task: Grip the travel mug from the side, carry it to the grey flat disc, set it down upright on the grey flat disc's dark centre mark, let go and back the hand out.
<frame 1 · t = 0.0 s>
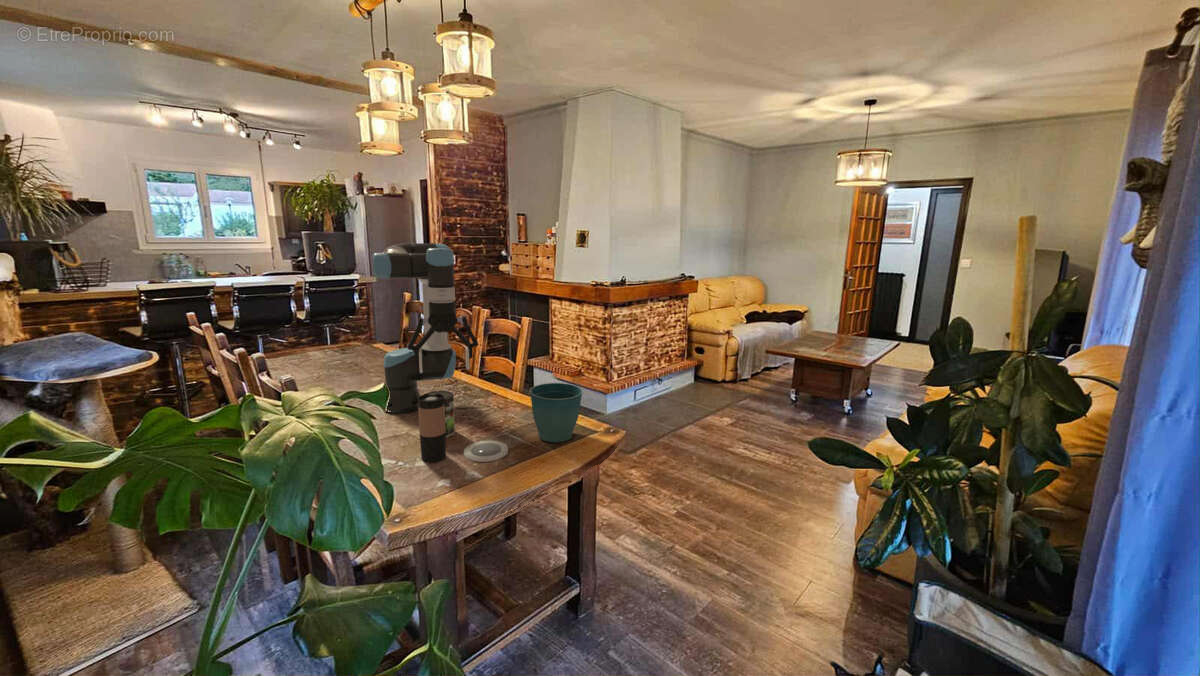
hand: (444, 370, 145), 28 cm above the table, tool pointing down, fingers open, 13 cm apart
flower pot: (555, 436, 167), on the table
coffee can: (439, 433, 167), on the table
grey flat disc: (486, 452, 154), on the table
travel mug: (433, 458, 149), on the table
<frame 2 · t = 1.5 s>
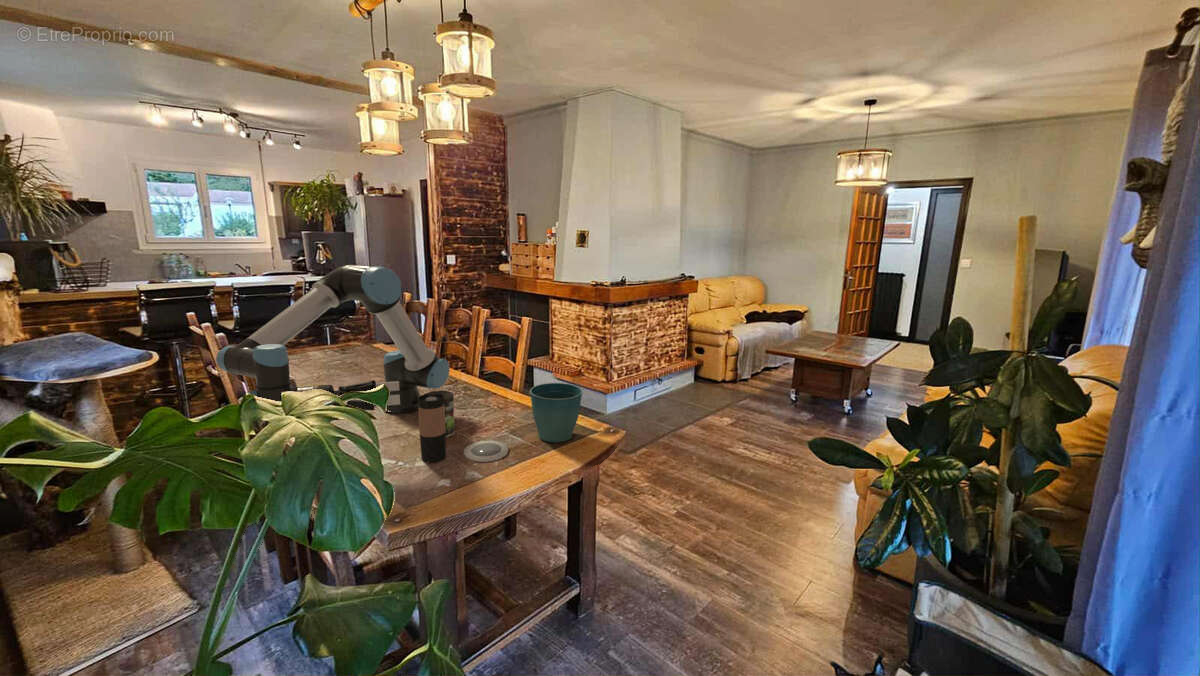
hand: (399, 392, 141), 22 cm above the table, tool horizontal, fingers open, 13 cm apart
nothing on the table moved.
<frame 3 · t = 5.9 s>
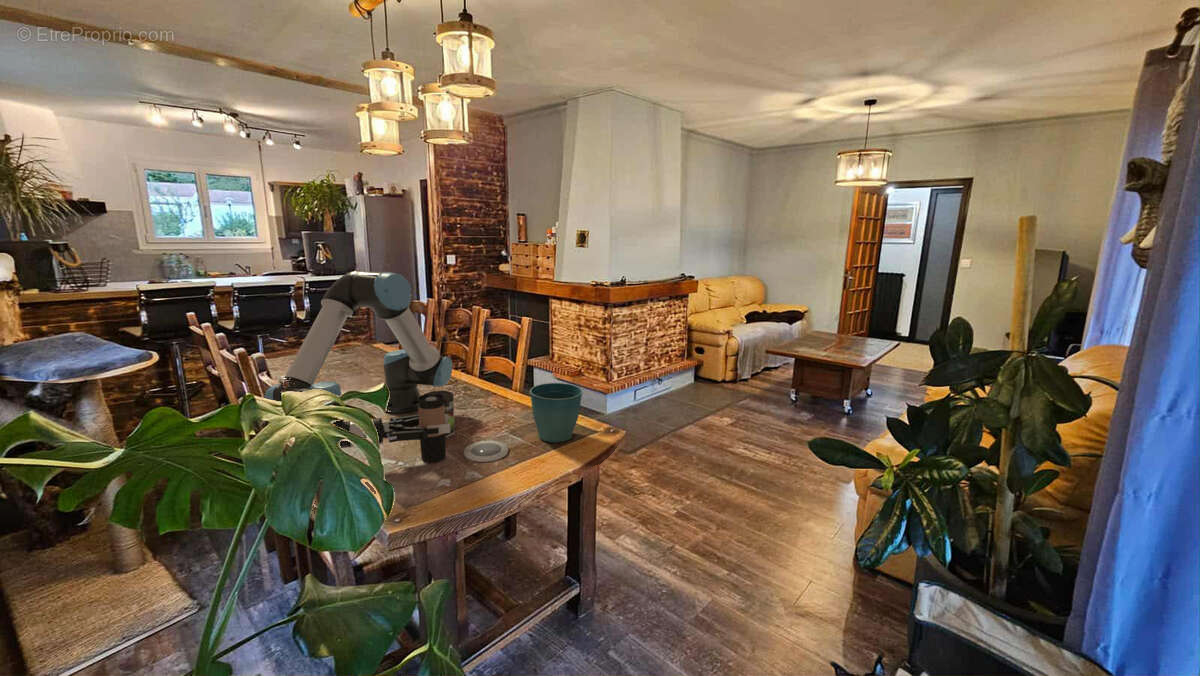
hand: (448, 423, 148), 11 cm above the table, tool horizontal, fingers closed on travel mug, 7 cm apart
travel mug: (433, 458, 149), on the table, touching gripper
everything else where it was.
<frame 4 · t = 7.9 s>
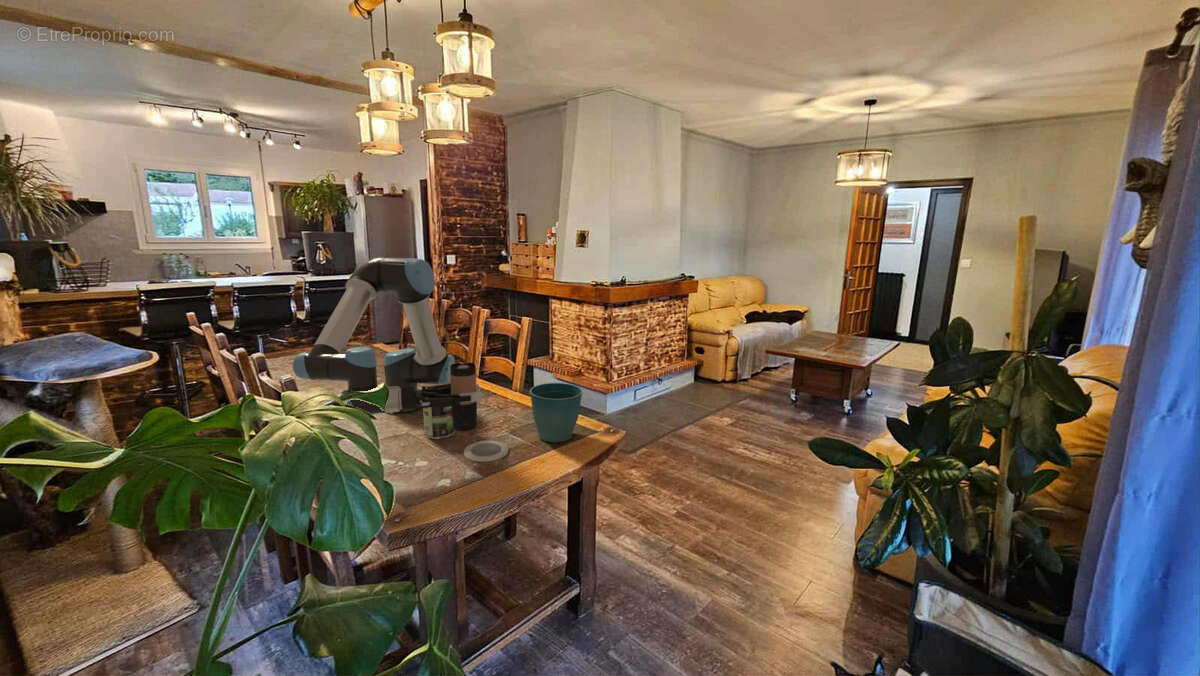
hand: (480, 392, 148), 21 cm above the table, tool horizontal, fingers closed on travel mug, 7 cm apart
travel mug: (464, 427, 148), point 10 cm above the table, touching gripper
everything else where it was.
when the fingers open (13 cm above the table, at t = 10.2 s): travel mug drops 1 cm, resting on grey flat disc.
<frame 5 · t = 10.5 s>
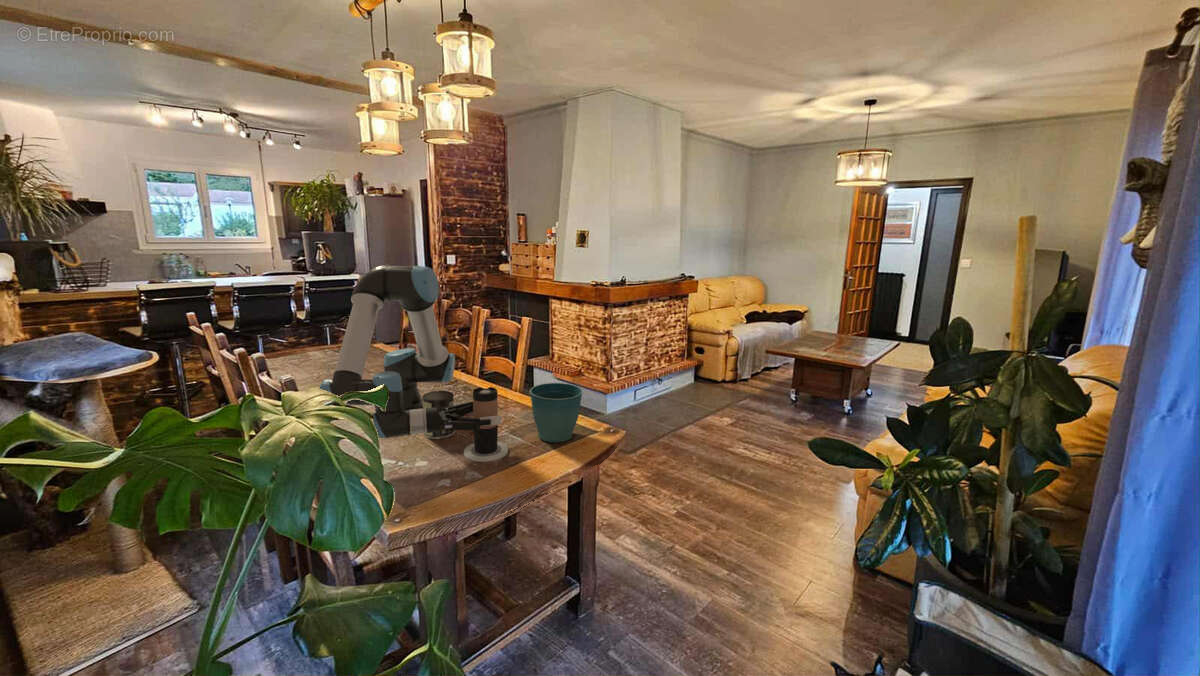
hand: (497, 412, 152), 13 cm above the table, tool horizontal, fingers open, 11 cm apart
travel mug: (486, 449, 153), point 1 cm above the table, touching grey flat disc
everything else where it was.
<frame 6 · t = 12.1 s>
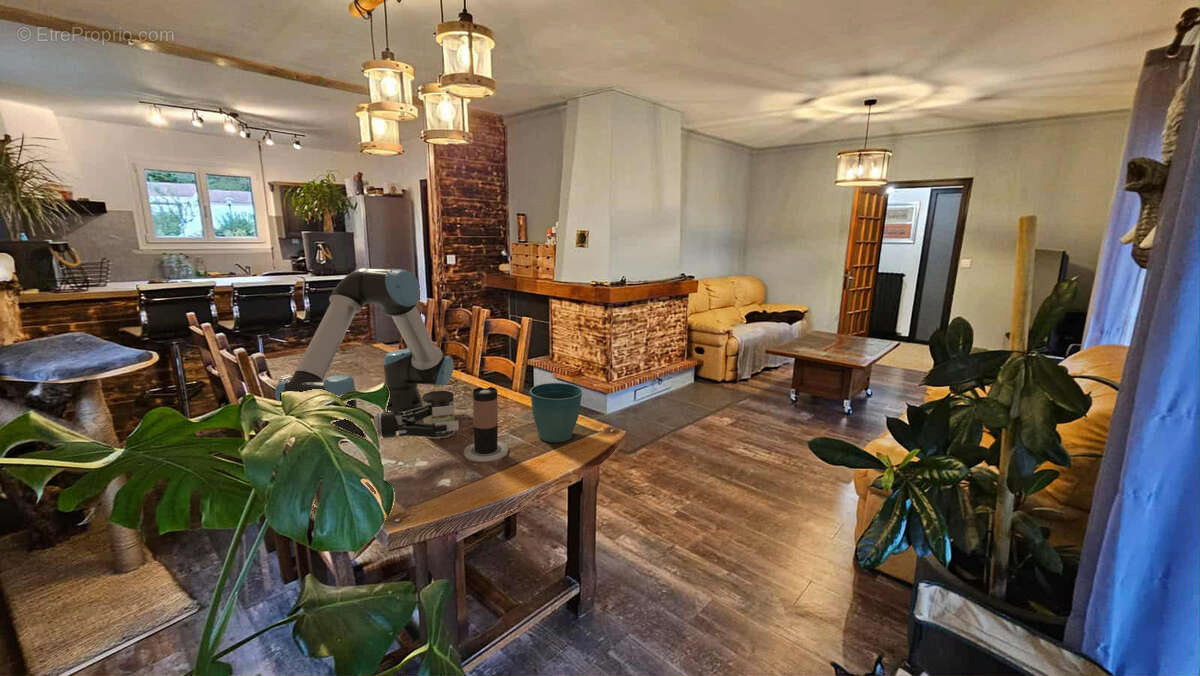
hand: (456, 417, 148), 13 cm above the table, tool horizontal, fingers open, 13 cm apart
nothing on the table moved.
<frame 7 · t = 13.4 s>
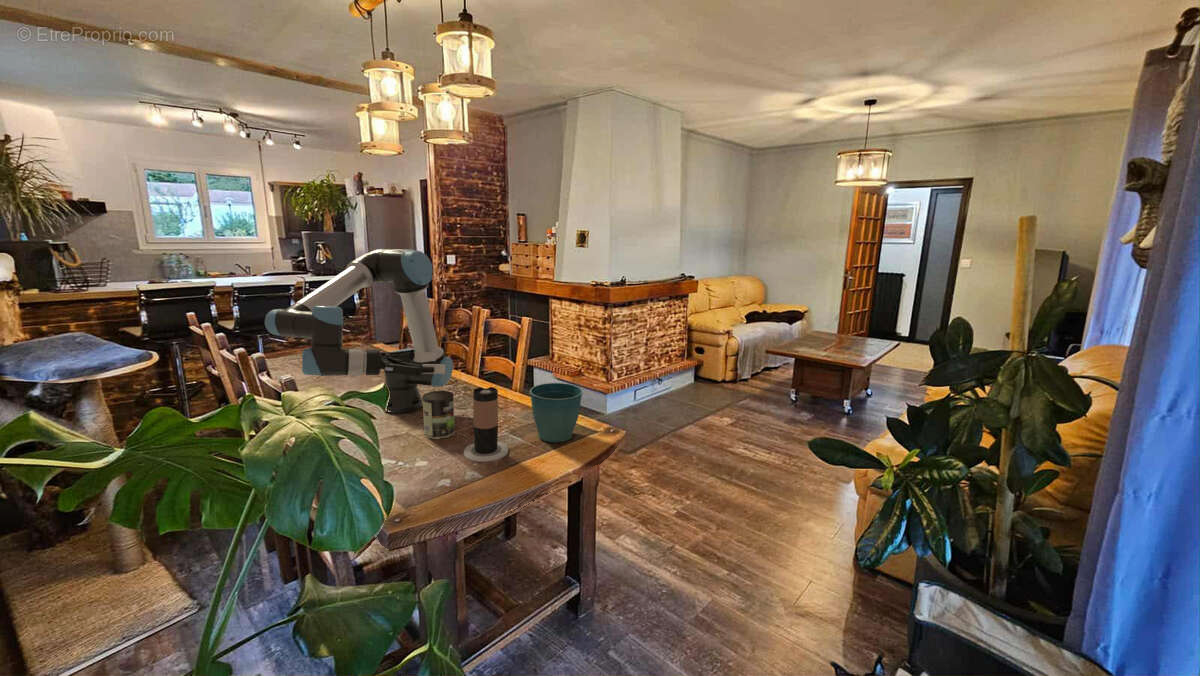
hand: (440, 362, 149), 29 cm above the table, tool horizontal, fingers open, 13 cm apart
nothing on the table moved.
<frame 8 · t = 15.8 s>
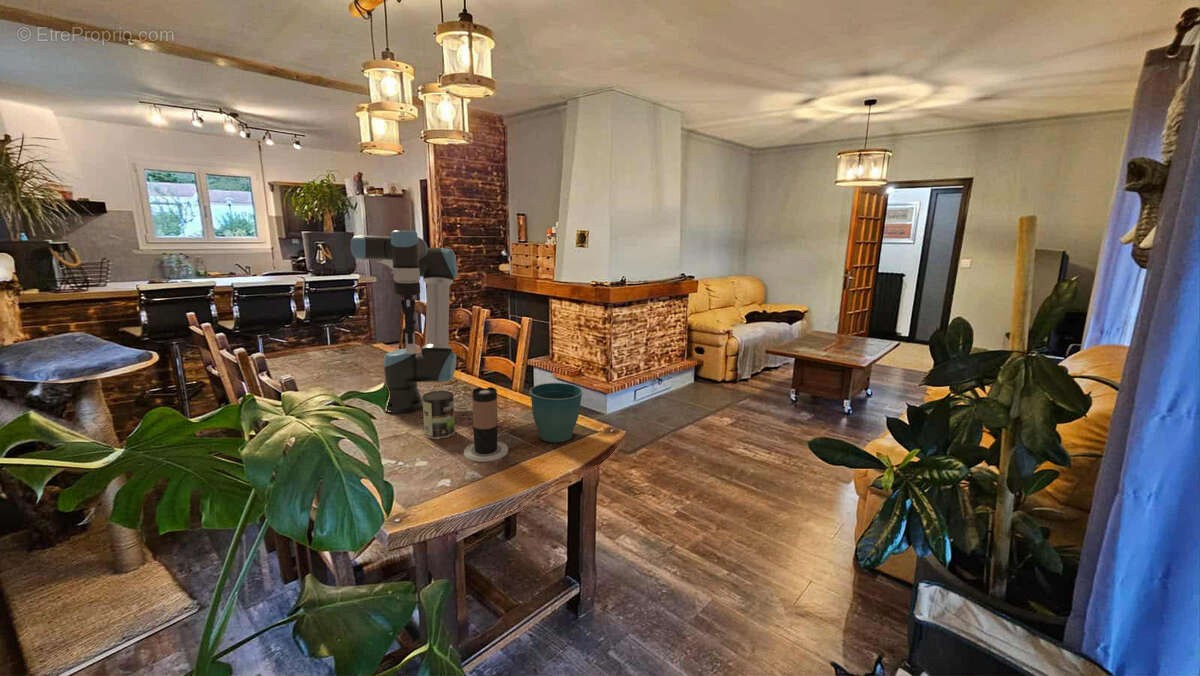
hand: (410, 348, 151), 33 cm above the table, tool pointing down, fingers open, 13 cm apart
nothing on the table moved.
at the end: travel mug 0.1 cm from the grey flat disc (horizontally); travel mug tilted 1°; the gripper is holding nothing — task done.
